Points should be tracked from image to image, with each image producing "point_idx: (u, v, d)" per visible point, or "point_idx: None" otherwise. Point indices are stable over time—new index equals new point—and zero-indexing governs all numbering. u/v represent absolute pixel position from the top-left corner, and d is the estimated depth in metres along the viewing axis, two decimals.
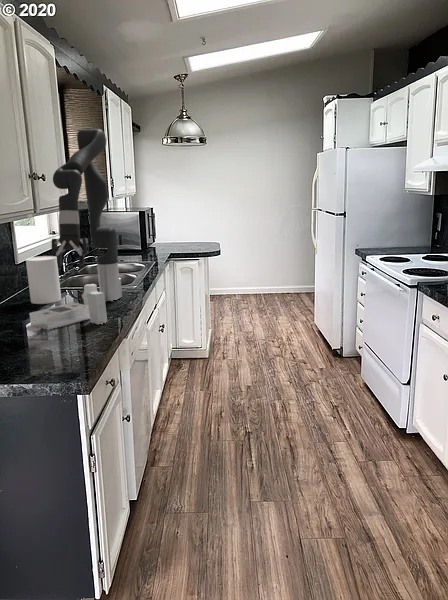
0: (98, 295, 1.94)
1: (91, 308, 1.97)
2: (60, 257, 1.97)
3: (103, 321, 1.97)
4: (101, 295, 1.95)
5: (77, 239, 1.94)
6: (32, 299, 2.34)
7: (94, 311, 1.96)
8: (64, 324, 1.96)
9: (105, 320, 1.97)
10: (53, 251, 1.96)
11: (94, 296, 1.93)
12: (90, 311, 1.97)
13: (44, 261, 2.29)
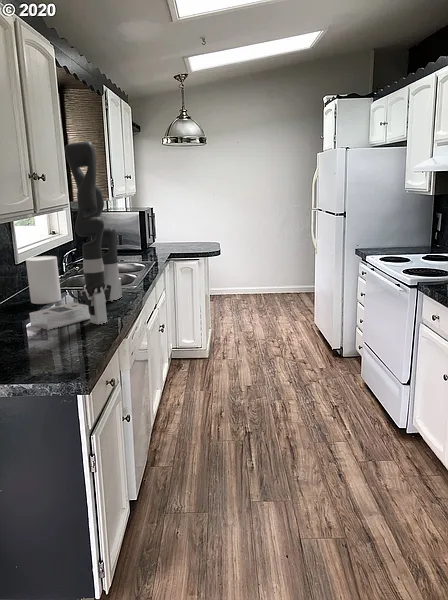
0: (98, 295, 1.94)
1: None
2: None
3: (103, 321, 1.97)
4: (101, 295, 1.95)
5: (104, 285, 1.98)
6: (32, 299, 2.34)
7: None
8: (64, 324, 1.96)
9: (105, 320, 1.97)
10: (88, 302, 1.93)
11: (94, 296, 1.93)
12: None
13: (44, 261, 2.29)
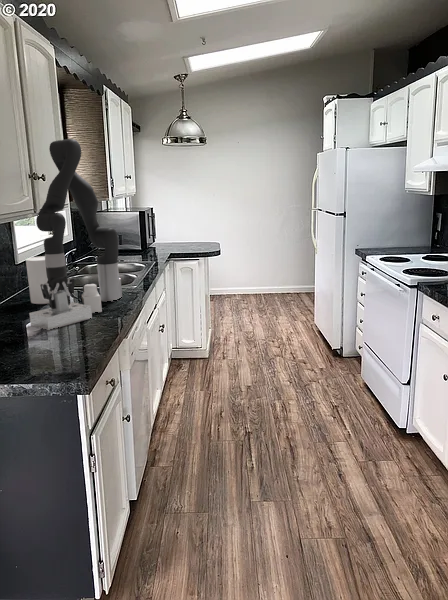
0: (60, 294, 1.97)
1: None
2: None
3: None
4: (63, 294, 1.98)
5: (67, 279, 2.00)
6: (32, 299, 2.34)
7: (56, 310, 1.99)
8: (64, 324, 1.96)
9: None
10: (48, 296, 1.95)
11: (56, 295, 1.96)
12: (53, 310, 2.00)
13: (44, 261, 2.29)
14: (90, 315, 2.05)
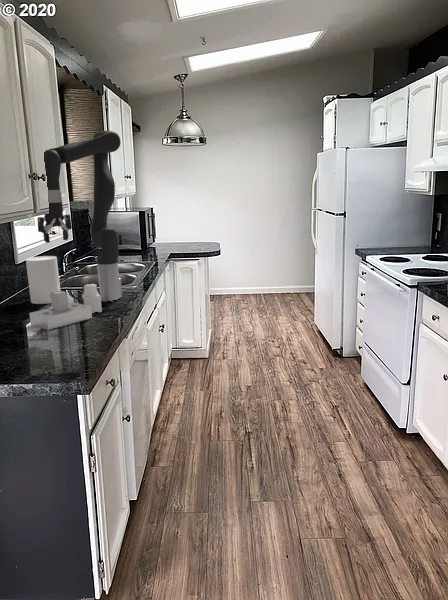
0: (61, 294, 1.97)
1: (54, 307, 2.00)
2: None
3: None
4: (64, 294, 1.98)
5: (63, 216, 2.10)
6: (32, 299, 2.34)
7: (57, 310, 1.99)
8: (64, 324, 1.96)
9: None
10: (43, 229, 2.04)
11: (57, 295, 1.97)
12: (53, 310, 2.00)
13: (44, 261, 2.29)
14: (90, 315, 2.05)
